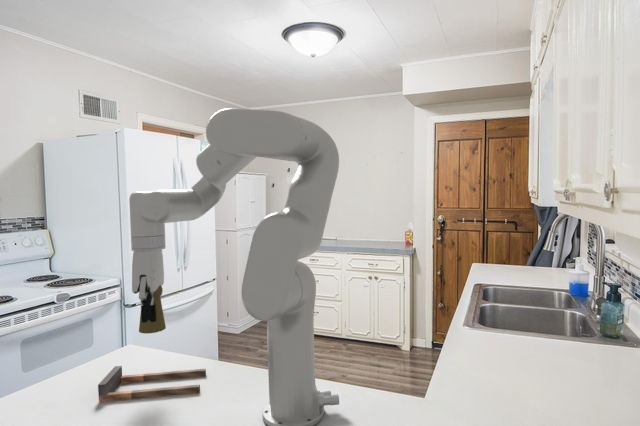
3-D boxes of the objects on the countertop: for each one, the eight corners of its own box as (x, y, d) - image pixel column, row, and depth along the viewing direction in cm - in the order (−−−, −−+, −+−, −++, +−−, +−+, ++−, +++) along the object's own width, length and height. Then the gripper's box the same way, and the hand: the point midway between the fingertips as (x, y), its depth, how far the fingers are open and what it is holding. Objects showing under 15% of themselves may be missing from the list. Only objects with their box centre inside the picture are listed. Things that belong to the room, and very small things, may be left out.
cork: (156, 334, 96) (154, 287, 95) (133, 332, 97) (131, 286, 97) (170, 325, 102) (169, 281, 101) (148, 324, 103) (147, 281, 103)
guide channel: (205, 374, 106) (205, 359, 106) (199, 393, 96) (198, 376, 95) (115, 382, 103) (114, 366, 103) (98, 402, 93) (97, 384, 93)
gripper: (143, 240, 106) (145, 310, 107) (119, 248, 90) (122, 331, 90) (173, 239, 107) (175, 309, 107) (154, 246, 90) (158, 329, 91)
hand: (151, 318), depth 99 cm, fingers closed on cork, 3 cm apart
